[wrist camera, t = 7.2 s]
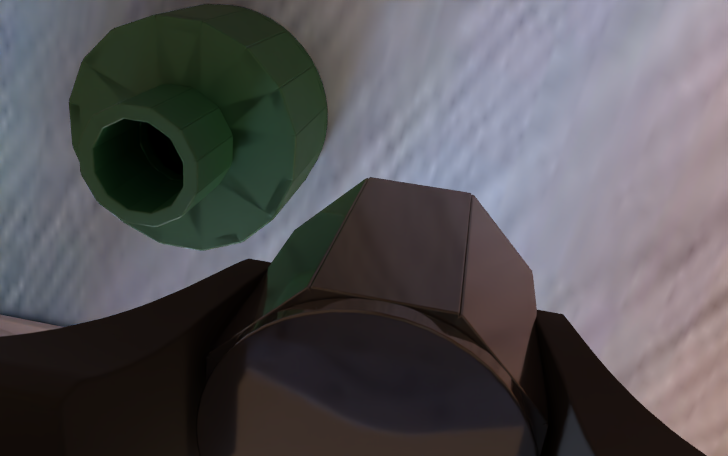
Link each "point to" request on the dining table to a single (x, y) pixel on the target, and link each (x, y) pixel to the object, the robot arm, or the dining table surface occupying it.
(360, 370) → the faceted brown jar
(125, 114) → the bottle
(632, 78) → the dining table surface
